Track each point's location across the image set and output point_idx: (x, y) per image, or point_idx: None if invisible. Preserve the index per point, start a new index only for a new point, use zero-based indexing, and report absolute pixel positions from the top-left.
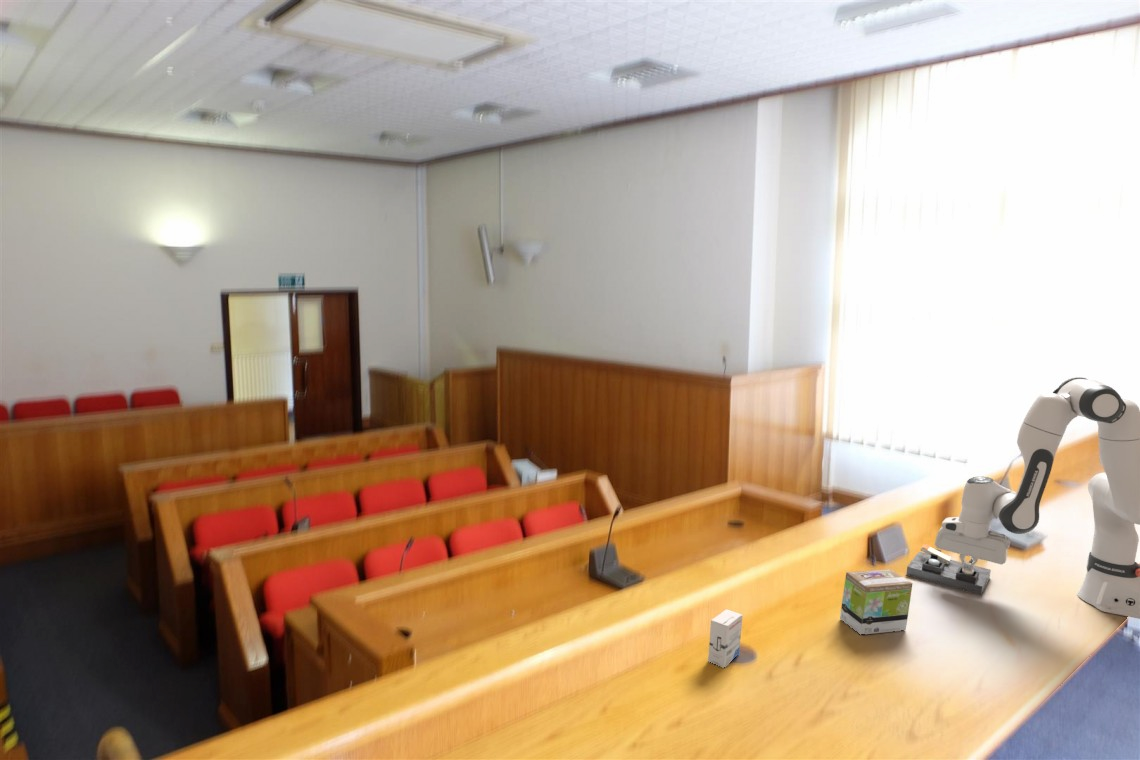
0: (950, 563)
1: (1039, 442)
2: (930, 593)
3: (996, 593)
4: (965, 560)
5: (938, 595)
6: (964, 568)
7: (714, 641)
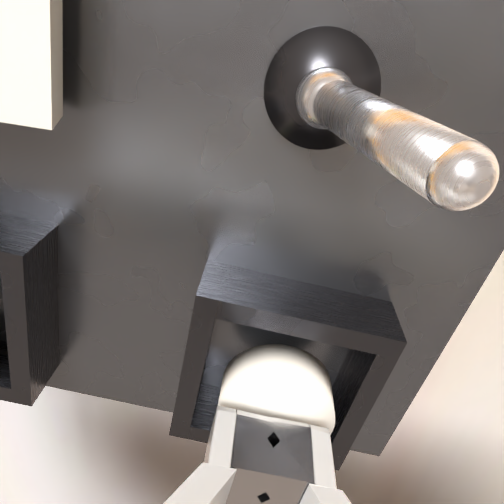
0: (90, 5)
1: None
2: (78, 458)
3: (499, 324)
4: (226, 481)
5: (120, 465)
6: (238, 406)
7: None
